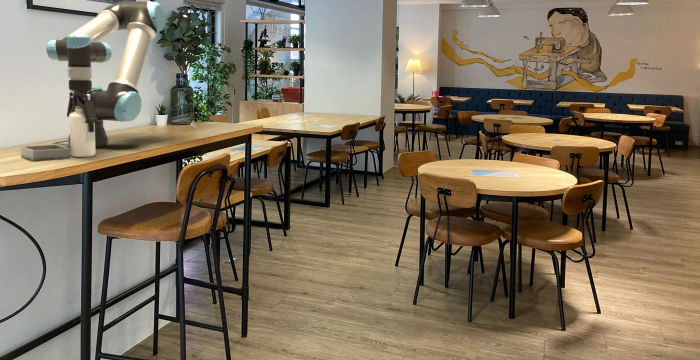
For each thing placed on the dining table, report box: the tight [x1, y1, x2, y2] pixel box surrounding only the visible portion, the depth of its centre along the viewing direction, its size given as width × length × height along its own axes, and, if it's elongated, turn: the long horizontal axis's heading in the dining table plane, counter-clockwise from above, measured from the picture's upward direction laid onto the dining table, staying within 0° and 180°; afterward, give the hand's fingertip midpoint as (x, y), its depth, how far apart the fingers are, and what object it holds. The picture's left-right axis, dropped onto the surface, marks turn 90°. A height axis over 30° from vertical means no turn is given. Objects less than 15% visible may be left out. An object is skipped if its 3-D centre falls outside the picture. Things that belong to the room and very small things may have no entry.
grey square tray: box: [20, 144, 71, 162], centre depth 222 cm, size 12×12×4 cm
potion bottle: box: [68, 106, 97, 158], centre depth 227 cm, size 8×8×18 cm
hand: (82, 139), depth 227 cm, fingers open, 13 cm apart
